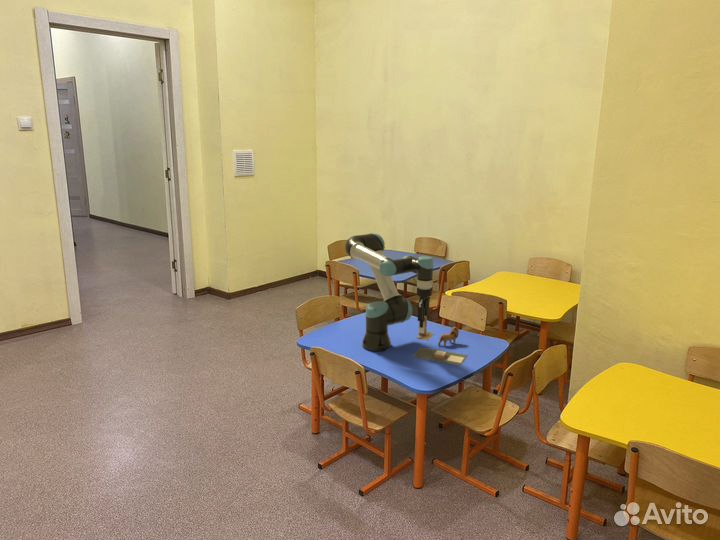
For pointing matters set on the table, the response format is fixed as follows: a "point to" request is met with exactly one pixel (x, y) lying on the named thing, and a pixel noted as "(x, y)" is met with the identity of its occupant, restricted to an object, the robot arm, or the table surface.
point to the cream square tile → (440, 354)
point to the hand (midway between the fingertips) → (422, 331)
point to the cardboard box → (426, 334)
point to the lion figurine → (449, 336)
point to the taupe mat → (449, 358)
